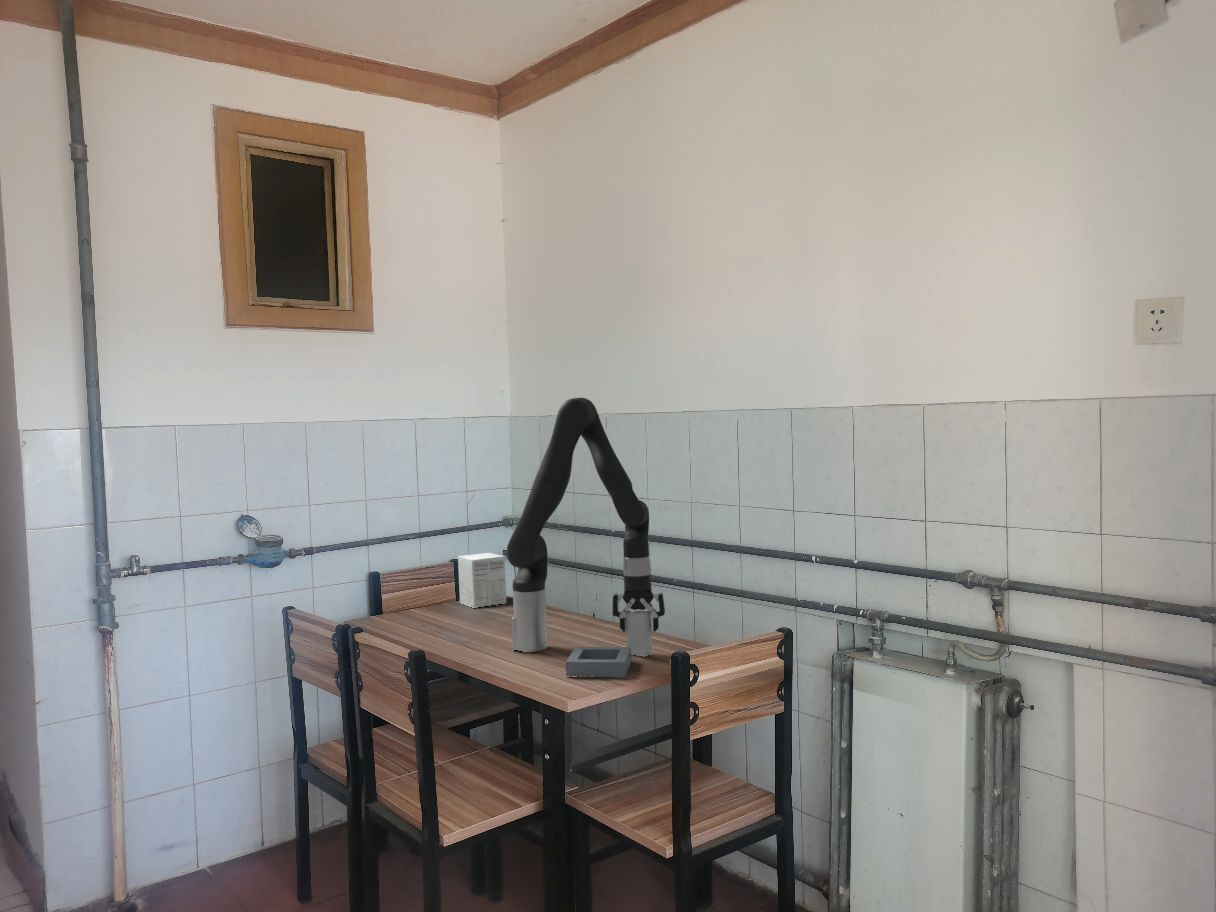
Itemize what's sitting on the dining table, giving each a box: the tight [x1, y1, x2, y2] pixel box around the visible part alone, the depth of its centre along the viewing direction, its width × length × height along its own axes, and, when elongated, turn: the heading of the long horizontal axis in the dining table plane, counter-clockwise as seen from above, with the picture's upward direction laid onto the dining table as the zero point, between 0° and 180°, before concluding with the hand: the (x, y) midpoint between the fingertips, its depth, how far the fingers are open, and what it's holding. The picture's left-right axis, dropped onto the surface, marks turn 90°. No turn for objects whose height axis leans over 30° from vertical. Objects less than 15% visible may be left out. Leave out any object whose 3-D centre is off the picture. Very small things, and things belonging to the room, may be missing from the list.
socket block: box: [565, 646, 632, 679], centre depth 237 cm, size 15×15×4 cm
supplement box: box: [457, 552, 507, 609], centre depth 328 cm, size 13×13×18 cm
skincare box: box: [624, 609, 654, 658], centre depth 250 cm, size 6×4×12 cm
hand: (639, 631), depth 250 cm, fingers open, 8 cm apart
